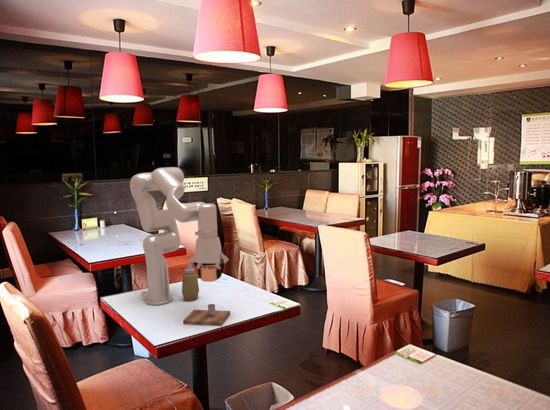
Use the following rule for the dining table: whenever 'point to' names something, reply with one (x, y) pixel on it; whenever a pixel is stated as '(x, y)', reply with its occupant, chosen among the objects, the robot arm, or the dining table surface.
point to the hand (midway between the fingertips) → (209, 277)
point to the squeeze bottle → (190, 283)
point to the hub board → (207, 317)
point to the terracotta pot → (209, 273)
